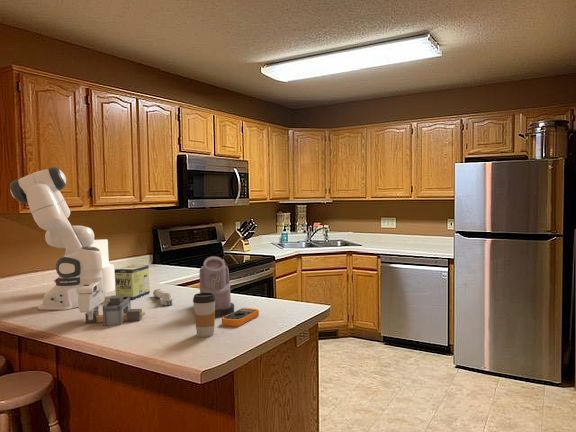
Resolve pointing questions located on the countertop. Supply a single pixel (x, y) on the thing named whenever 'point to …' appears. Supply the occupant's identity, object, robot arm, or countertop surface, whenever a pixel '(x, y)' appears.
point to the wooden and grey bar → (130, 316)
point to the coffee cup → (204, 313)
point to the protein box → (132, 281)
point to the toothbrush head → (163, 296)
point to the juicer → (217, 285)
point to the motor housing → (115, 310)
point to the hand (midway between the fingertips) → (93, 317)
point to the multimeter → (240, 317)
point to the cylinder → (105, 265)
